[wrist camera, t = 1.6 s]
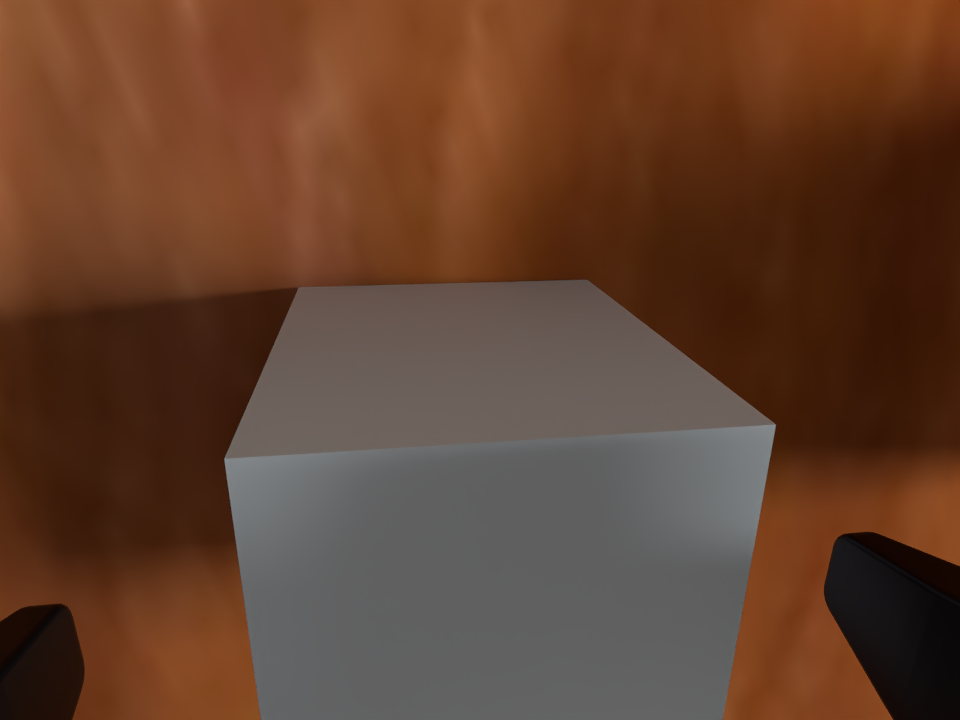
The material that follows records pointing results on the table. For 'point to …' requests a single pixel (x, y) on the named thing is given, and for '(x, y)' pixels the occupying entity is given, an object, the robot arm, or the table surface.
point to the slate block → (491, 509)
